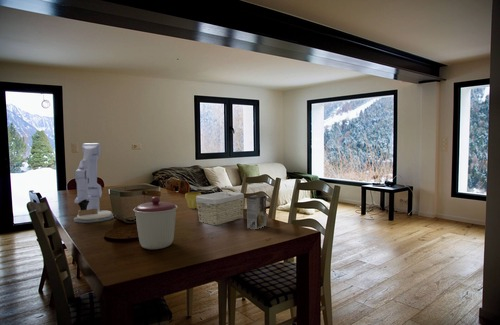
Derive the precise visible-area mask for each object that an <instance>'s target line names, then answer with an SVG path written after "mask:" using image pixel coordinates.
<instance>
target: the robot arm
mask: <svg viewBox="0 0 500 325" xmlns="http://www.w3.org/2000/svg"><path fill="white" fill-rule="evenodd" d="M101 146H102V145H101V144H100V143H99V142H93V143H91V142H90V143H89V142H88V143H87V142H84V143H82V144H81V150H82V154H83V157H82V159H81V160H80V162H79V165H78V167H77V169H76V170H75V171H74V180H75V183H76V194H77V196H76V197H75V199H74V204H78V206H79V209H80V210H87V209H94V208H97V210H98V211H99V210H100V198H102V196H103V190H102V186H101V184H99V183H98V160H99V158H100V157H101V156H102V155H101V154H102V148H101Z"/></svg>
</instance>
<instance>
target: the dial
mask: <svg viewBox="0 0 500 325" xmlns="http://www.w3.org/2000/svg"><path fill="white" fill-rule="evenodd" d="M77 211H78V214H77V216H76V217H78V219H80V220H95V219H102V218H107V217H110V216H111V215H112V211H110V210H106V209H105V210H103V209H102V210H99V211H98V210H97V208H94V209H87V210H81V209H80V210H77Z"/></svg>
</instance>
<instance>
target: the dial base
mask: <svg viewBox="0 0 500 325" xmlns="http://www.w3.org/2000/svg"><path fill="white" fill-rule="evenodd" d="M113 214H114V213H112V215H111V216H110V217H107V218H102V219H95V220H80V219H78V217H77V216H75V217H73V222H74V223H76V224H95V223H103V222H108V221H111V220H113V219H115V218H114V216H113Z"/></svg>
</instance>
